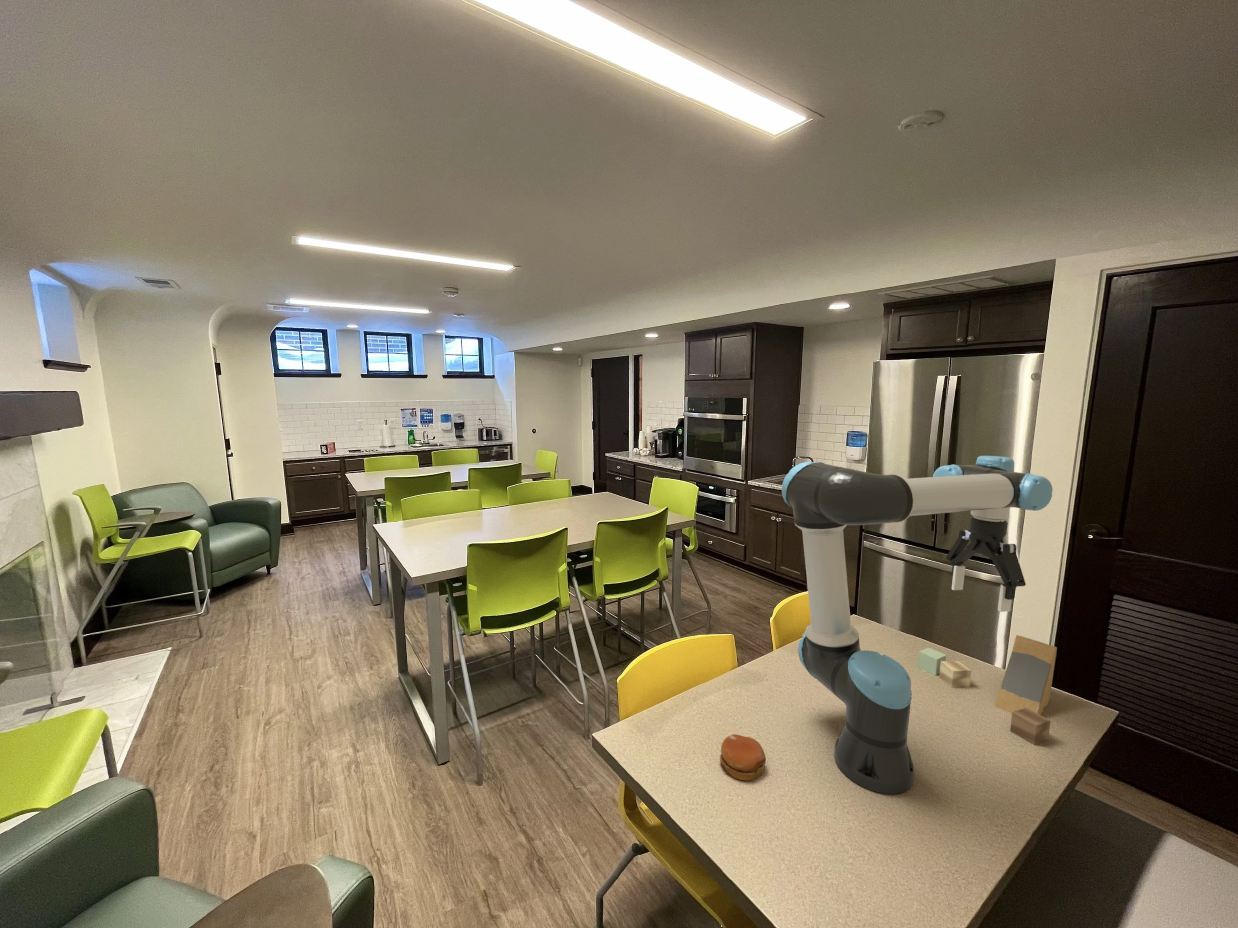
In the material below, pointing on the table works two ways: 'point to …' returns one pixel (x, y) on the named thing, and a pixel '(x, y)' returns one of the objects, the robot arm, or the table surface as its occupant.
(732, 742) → the burger
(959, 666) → the maple cube
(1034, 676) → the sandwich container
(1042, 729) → the walnut cube
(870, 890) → the table surface
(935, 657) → the sage cube
